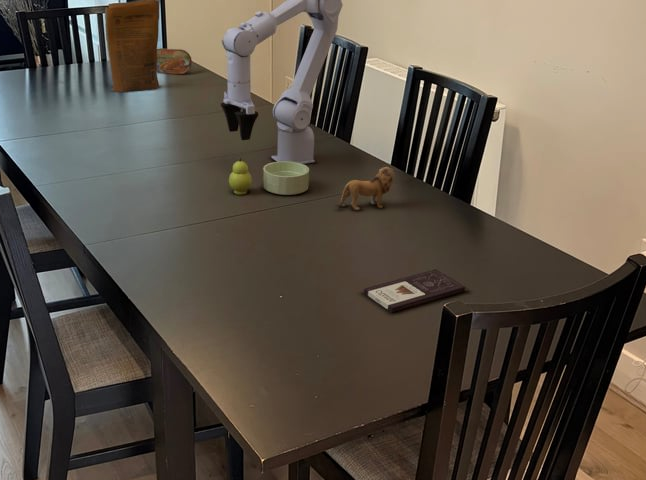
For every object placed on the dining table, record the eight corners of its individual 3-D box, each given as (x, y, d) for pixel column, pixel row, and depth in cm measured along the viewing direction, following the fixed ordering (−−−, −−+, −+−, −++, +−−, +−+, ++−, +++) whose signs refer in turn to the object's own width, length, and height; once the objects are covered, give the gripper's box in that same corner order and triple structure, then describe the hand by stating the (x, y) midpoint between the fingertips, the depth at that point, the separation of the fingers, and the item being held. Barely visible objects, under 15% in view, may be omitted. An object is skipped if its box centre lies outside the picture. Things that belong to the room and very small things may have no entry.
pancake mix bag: (167, 89, 283) (162, 0, 267) (113, 94, 275) (104, 3, 260) (161, 84, 288) (155, -3, 272) (107, 89, 280) (98, -1, 265)
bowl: (295, 177, 215) (296, 159, 212) (316, 192, 206) (317, 173, 204) (255, 183, 210) (255, 164, 207) (275, 199, 202) (275, 179, 199)
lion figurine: (385, 198, 204) (388, 163, 199) (396, 206, 200) (399, 170, 195) (332, 206, 199) (334, 170, 194) (342, 214, 195) (345, 177, 190)
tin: (150, 72, 302) (149, 48, 297) (153, 70, 304) (151, 46, 300) (190, 75, 300) (189, 50, 295) (193, 73, 303) (192, 49, 298)
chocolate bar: (465, 286, 163) (392, 308, 155) (464, 291, 164) (391, 312, 155) (435, 269, 169) (364, 288, 161) (435, 273, 170) (363, 292, 162)
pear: (246, 186, 208) (246, 151, 203) (255, 194, 204) (255, 158, 199) (225, 189, 206) (224, 154, 201) (234, 197, 202) (234, 161, 197)
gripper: (212, 75, 208) (214, 129, 216) (236, 89, 198) (236, 145, 205) (238, 72, 211) (238, 126, 219) (262, 86, 201) (262, 142, 208)
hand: (239, 135), depth 212 cm, fingers open, 7 cm apart
